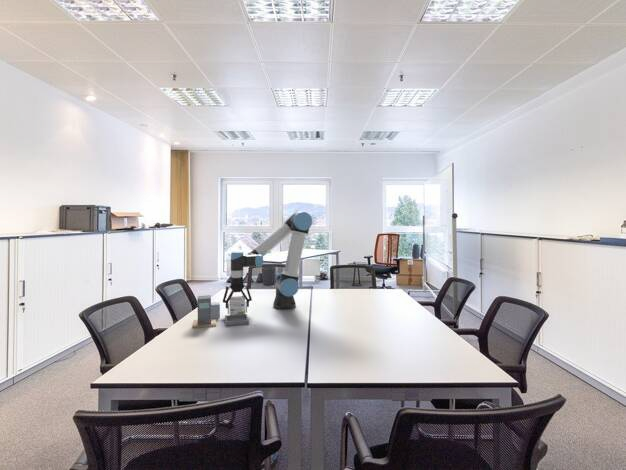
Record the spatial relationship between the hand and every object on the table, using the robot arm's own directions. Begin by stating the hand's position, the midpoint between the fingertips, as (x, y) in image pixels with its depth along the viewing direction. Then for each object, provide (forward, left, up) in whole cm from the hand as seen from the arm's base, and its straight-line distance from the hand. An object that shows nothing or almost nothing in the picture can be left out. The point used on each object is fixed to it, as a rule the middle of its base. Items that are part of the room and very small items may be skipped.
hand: (237, 312), depth 209 cm
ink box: (0, 0, -2) cm, 2 cm away
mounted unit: (+19, +14, -1) cm, 24 cm away
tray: (+1, +15, -1) cm, 15 cm away
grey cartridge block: (+13, 0, -1) cm, 13 cm away
